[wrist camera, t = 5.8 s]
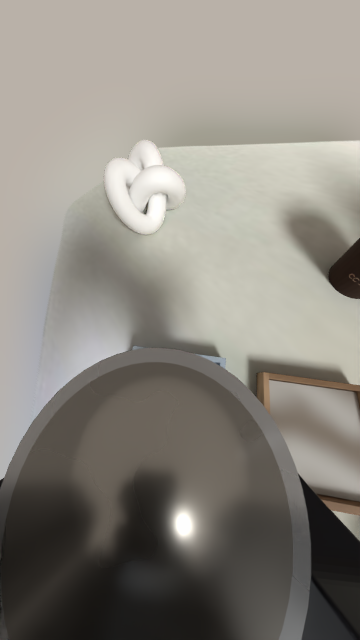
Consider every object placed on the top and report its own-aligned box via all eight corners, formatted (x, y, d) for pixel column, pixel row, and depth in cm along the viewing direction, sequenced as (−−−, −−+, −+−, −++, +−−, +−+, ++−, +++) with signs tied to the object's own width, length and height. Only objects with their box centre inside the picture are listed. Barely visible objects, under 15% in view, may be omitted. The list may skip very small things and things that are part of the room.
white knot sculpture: (156, 254, 29) (145, 200, 20) (102, 226, 31) (72, 168, 23) (192, 212, 32) (195, 150, 24) (140, 189, 34) (126, 126, 26)
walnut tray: (375, 507, 17) (398, 522, 15) (258, 486, 18) (266, 497, 16) (352, 386, 21) (368, 386, 19) (256, 373, 22) (263, 372, 20)
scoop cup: (217, 430, 13) (402, 677, 2) (157, 455, 13) (-41, 955, 2) (194, 369, 15) (226, 314, 4) (140, 389, 14) (-14, 397, 3)
